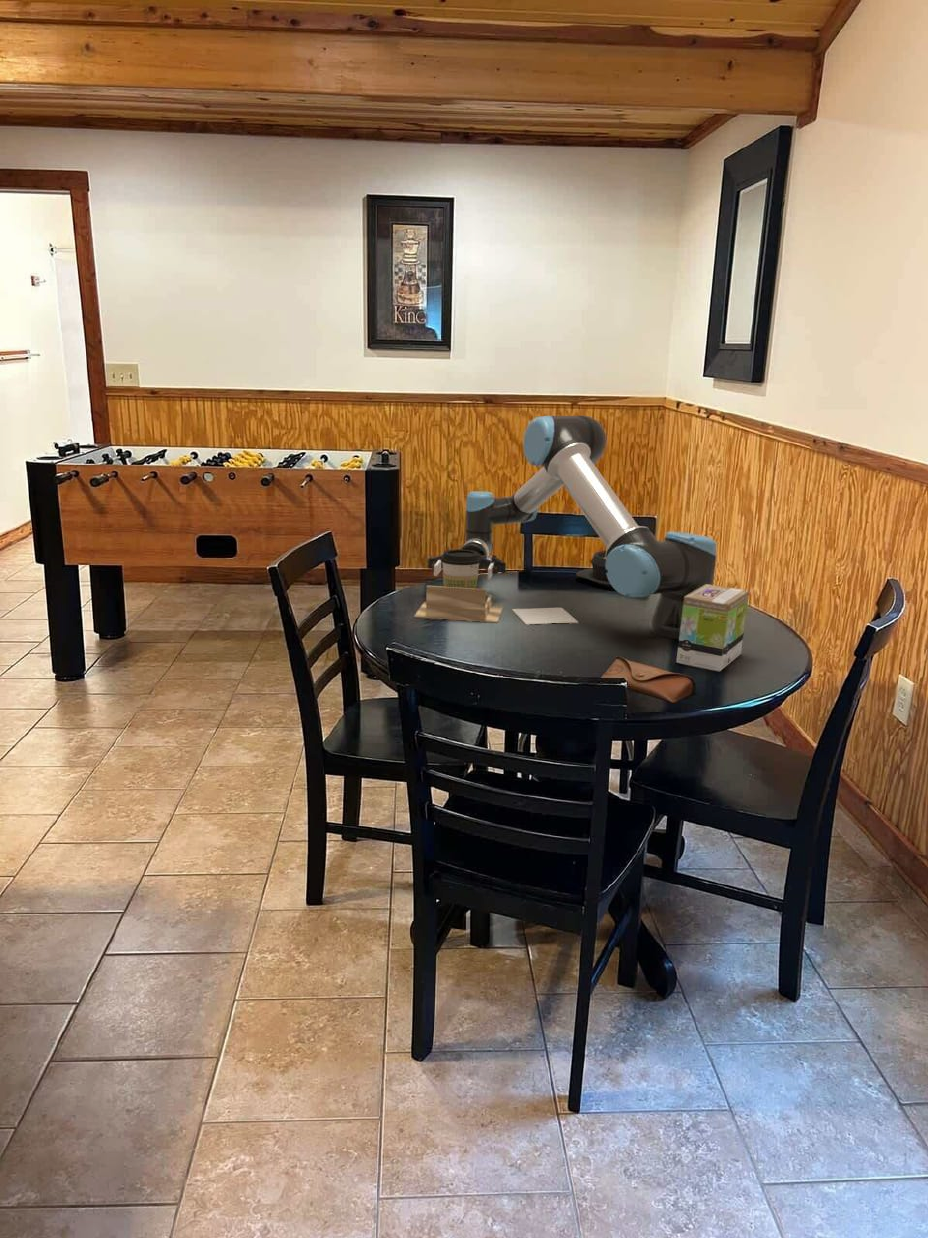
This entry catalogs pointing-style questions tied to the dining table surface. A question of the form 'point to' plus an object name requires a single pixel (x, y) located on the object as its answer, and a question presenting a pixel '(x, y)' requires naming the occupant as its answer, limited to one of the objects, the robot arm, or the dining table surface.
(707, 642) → the tea box
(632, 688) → the sunglasses case
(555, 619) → the mat
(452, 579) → the coffee cup
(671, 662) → the dining table surface
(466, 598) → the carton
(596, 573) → the black brimmed hat
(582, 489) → the robot arm
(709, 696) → the dining table surface
